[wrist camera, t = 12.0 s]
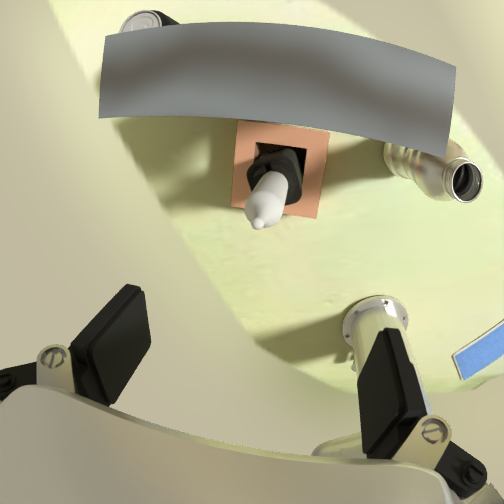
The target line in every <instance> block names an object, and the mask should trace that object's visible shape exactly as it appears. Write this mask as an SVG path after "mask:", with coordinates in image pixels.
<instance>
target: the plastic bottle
mask: <svg viewBox="0 0 504 504" xmlns="http://www.w3.org/2000/svg"><path fill="white" fill-rule="evenodd" d="M383 157H384V161H385V163H386V165H387V167H388V168H389V170H390V171H391V172H392V173H393V174H395V175H396V176H398V177H401V178H406V179H411V180H413V181H414V182H415V183H416V184H417V185H418V187H419V188H420V189H421V190H422V191H423V192H424V193H425V194H426V195H427V196H428V197H430V198H431V199H434V200H438V201H449V200H452V199H457V200H458V201H460V202H463V203H469V202H472V201H473V200H475V199H476V198H477V197H478V195H479V194H480V192H481V189H482V185H483V176H482V172H481V170H480V168H479V167H478V166H477V165H476V164H475V163H473V162H471V161H470V160H468V157H467V155H466V153H465V151H464V150H463V149H462V148H461V147H460V146H459V145H458V144H457V143H456V142H455V141H453V140H451V139H448V144H447V150H446V156H445V159H444V158H441V157H438V156H435V155H431V154H428V153H425V152H421V151H418V150H414V149H411V148H407V147H403V146H399V145H395V144H391V143H387V142H386V143H385V145H384V150H383Z"/></svg>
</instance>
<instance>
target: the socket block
mask: <svg viewBox="0 0 504 504" xmlns="http://www.w3.org/2000/svg"><path fill="white" fill-rule="evenodd" d="M329 135H330V133H329V132H327V131H323V130H317V129H311V128H305V127H298V126H290V125H283V124H275V123H266V122H256V121H238V124H237V135H236V146H235V158H234V170H233V183H232V196H231V206H232V207H240V208H245V203H246V200H247V198H248V197H249V195H250V194H251V189H250V186H249V183H248V180H247V176H246V174H247V170H248V168H249V167H250V166H251V165H252V164H253V163H254V162H255V161H256V160H257V159H259V152H260V142H261V143H270V144H278V145H285V146H293V147H300V148H306V154H305V161H304V168H303V176H302V197H301V199H300V200H299V201H298V202H297V203H294V204H290V205H286V206H284V210H283V214H289V215H295V216H301V217H308V218H314V219H316V217H317V211H318V205H319V200H320V194H321V188H322V182H323V175H324V169H325V162H326V156H327V149H328V142H329Z"/></svg>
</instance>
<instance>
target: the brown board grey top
mask: <svg viewBox="0 0 504 504" xmlns="http://www.w3.org/2000/svg"><path fill="white" fill-rule="evenodd" d="M455 76H456V67H455V66H453V65H450V64H448V63H446V62H443V61H441V60H438V59H435V58H433V57H430V56H427V55H424V54H422V53H419V52H416V51H413V50H410V49H407V48H403V47H400V46H397V45H393V44H390V43H386V42H383V41H379V40H375V39H371V38H367V37H362V36H358V35H353V34H348V33H343V32H338V31H332V30H326V29H320V28H313V27H305V26H297V25H287V24H275V23H257V22H208V23H191V24H179V25H169V26H160V27H153V28H146V29H140V30H134V31H128V32H123V33H118V34H113V35H109V36H106V38H105V45H104V53H103V62H102V72H101V84H100V99H99V118H113V117H133V116H197V117H219V118H234V119H247V120H257V121H267V122H276V123H284V124H292V125H299V126H306V127H312V128H318V129H324V130H330V131H336V132H341V133H346V134H351V135H356V136H361V137H366V138H370V139H375V140H379V141H383V142H387V143H391V144H395V145H399V146H403V147H407V148H411V149H414V150H418V151H421V152H425V153H428V154H431V155H435V156H438V157H441V158H444V159H445V156H446V150H447V144H448V138H449V132H450V125H451V118H452V110H453V100H454V90H455V89H454V88H455Z"/></svg>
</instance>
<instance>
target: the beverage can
mask: <svg viewBox="0 0 504 504" xmlns="http://www.w3.org/2000/svg"><path fill="white" fill-rule="evenodd" d="M169 25H179V23H178V22H176V21H175V20H173V19H171V18H170V17H168V16H167V15H165V14H163V13H162V12H159V11H155V10H142V11H138V12H136V13H134V14H132V15H131V16H130V17H128V18H127V19H126V20H125V22H124V23H123V25H122V26H121V29H120V32H119V33H123V32H128V31H134V30H140V29H146V28H153V27H160V26H169Z"/></svg>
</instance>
